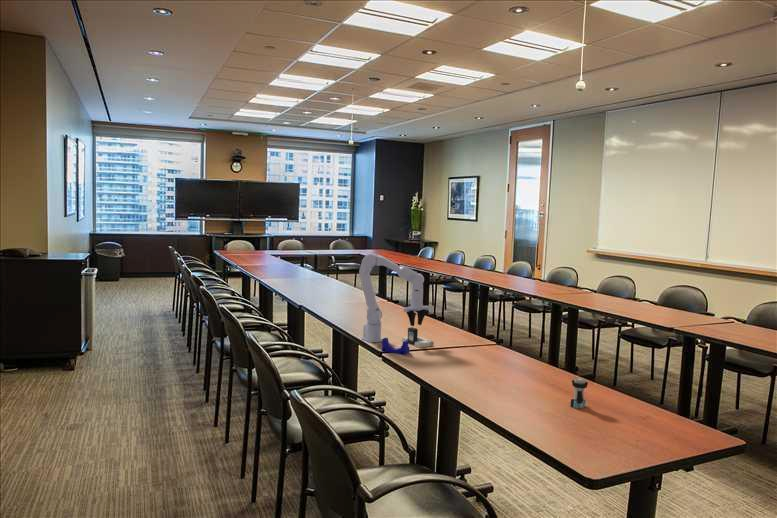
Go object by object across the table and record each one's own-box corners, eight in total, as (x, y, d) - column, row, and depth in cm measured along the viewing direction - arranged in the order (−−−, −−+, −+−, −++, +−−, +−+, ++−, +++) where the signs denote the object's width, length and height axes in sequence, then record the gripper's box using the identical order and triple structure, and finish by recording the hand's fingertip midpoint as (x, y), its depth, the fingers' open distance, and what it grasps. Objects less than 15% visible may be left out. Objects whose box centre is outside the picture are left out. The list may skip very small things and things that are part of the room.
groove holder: (402, 341, 279) (402, 337, 279) (416, 339, 284) (416, 335, 284) (418, 347, 267) (419, 343, 267) (433, 345, 272) (433, 341, 272)
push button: (581, 403, 197) (583, 376, 196) (592, 408, 192) (594, 380, 191) (566, 405, 195) (568, 377, 194) (577, 410, 190) (579, 382, 189)
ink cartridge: (407, 343, 276) (407, 327, 275) (410, 342, 277) (411, 326, 277) (413, 345, 272) (414, 329, 271) (417, 344, 273) (417, 328, 273)
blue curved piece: (409, 353, 257) (409, 340, 257) (405, 355, 253) (405, 342, 253) (386, 349, 263) (386, 337, 262) (381, 351, 259) (382, 338, 258)
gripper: (410, 300, 265) (409, 328, 267) (433, 298, 274) (432, 325, 275) (401, 298, 271) (400, 325, 272) (424, 296, 279) (423, 322, 281)
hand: (415, 325), depth 274 cm, fingers open, 4 cm apart
